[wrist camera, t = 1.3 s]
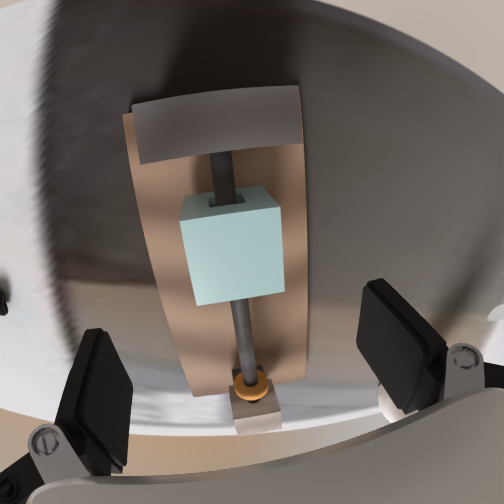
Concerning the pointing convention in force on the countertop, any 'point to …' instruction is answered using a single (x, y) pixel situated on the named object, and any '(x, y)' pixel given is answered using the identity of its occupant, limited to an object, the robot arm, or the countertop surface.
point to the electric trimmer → (3, 305)
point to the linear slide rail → (223, 184)
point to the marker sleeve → (233, 245)
